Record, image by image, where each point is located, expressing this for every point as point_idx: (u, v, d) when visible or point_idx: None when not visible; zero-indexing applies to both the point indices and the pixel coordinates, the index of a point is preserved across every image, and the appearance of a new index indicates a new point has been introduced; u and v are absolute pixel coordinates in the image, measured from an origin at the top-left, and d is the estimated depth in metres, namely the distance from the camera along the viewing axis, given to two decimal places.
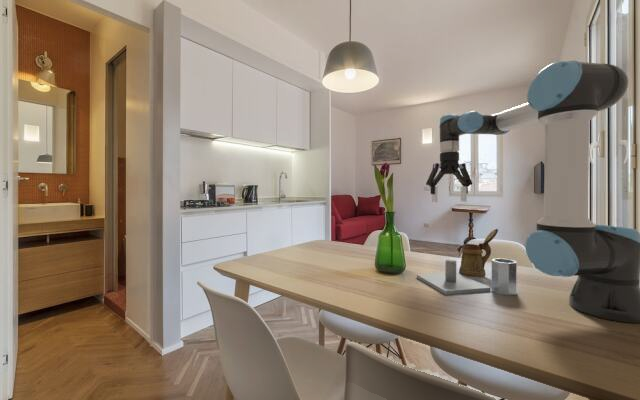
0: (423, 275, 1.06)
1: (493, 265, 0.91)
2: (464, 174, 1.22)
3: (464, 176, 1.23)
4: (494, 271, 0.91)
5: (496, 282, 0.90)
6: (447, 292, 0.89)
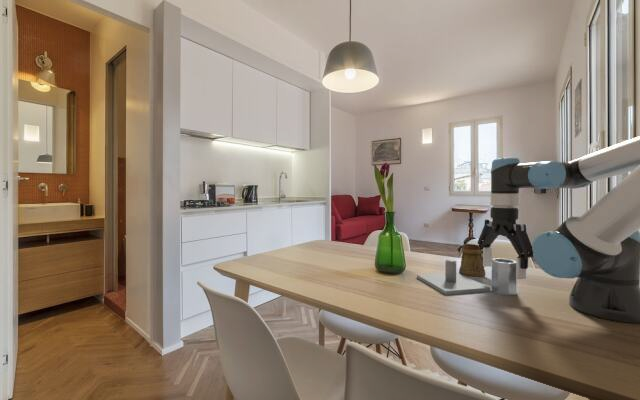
0: (423, 275, 1.06)
1: (493, 265, 0.91)
2: None
3: None
4: (494, 271, 0.91)
5: (496, 282, 0.90)
6: (447, 292, 0.89)
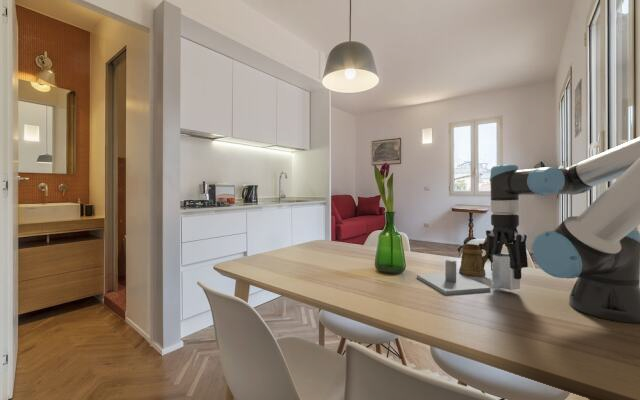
0: (423, 275, 1.06)
1: (494, 259, 0.91)
2: None
3: None
4: (495, 265, 0.90)
5: (498, 277, 0.90)
6: (447, 292, 0.89)
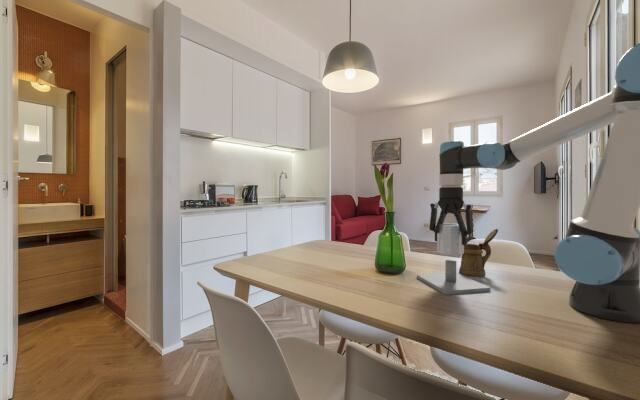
0: (423, 275, 1.06)
1: (445, 229, 0.97)
2: None
3: None
4: (446, 235, 0.97)
5: (449, 245, 0.96)
6: (447, 292, 0.89)
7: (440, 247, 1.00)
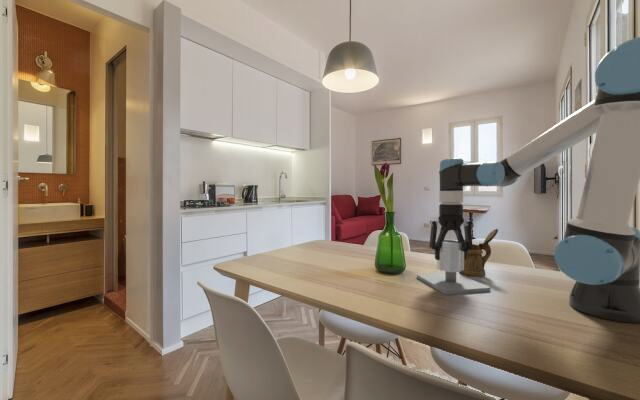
0: (423, 275, 1.06)
1: (452, 247, 0.96)
2: (466, 233, 0.99)
3: (466, 236, 0.99)
4: (454, 252, 0.96)
5: (456, 262, 0.96)
6: (447, 292, 0.89)
7: (445, 265, 0.97)
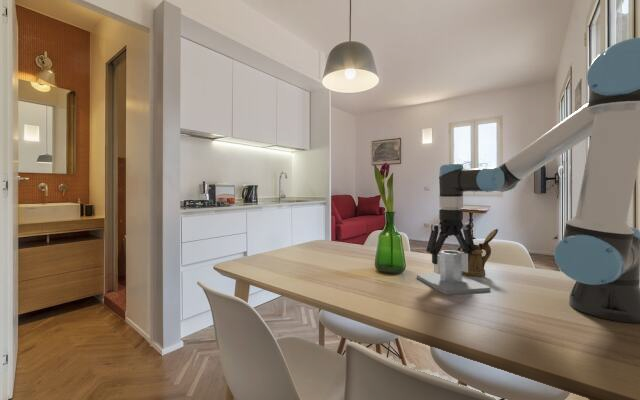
0: (423, 275, 1.06)
1: (455, 258, 0.96)
2: (467, 236, 1.00)
3: (467, 239, 1.00)
4: (456, 264, 0.96)
5: (459, 273, 0.96)
6: (447, 292, 0.89)
7: (448, 277, 0.97)
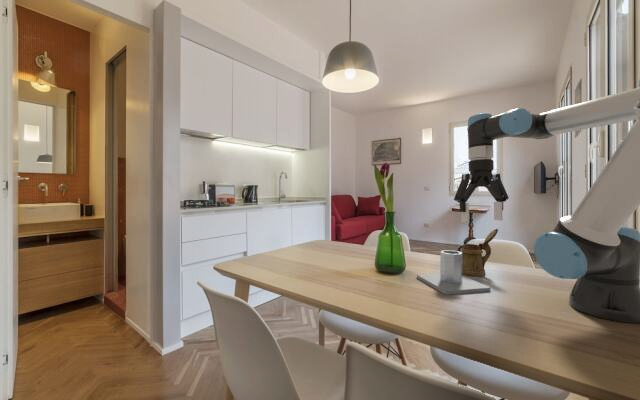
0: (423, 275, 1.06)
1: (455, 258, 0.96)
2: (498, 186, 1.00)
3: (498, 189, 1.00)
4: (456, 264, 0.96)
5: (459, 273, 0.96)
6: (447, 292, 0.89)
7: (448, 277, 0.97)
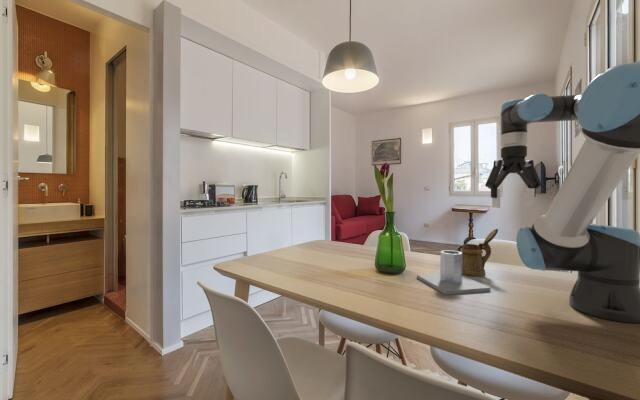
0: (423, 275, 1.06)
1: (455, 258, 0.96)
2: (530, 173, 1.00)
3: (531, 176, 1.00)
4: (456, 264, 0.96)
5: (459, 273, 0.96)
6: (447, 292, 0.89)
7: (448, 277, 0.97)
